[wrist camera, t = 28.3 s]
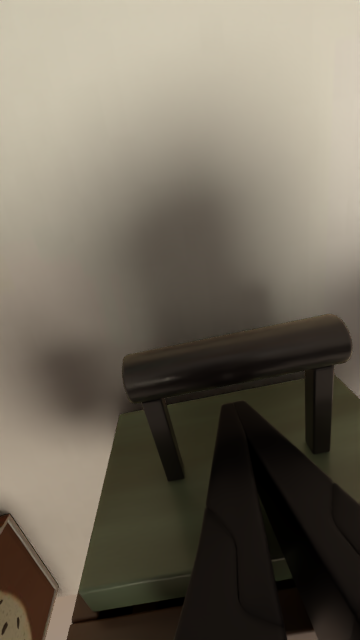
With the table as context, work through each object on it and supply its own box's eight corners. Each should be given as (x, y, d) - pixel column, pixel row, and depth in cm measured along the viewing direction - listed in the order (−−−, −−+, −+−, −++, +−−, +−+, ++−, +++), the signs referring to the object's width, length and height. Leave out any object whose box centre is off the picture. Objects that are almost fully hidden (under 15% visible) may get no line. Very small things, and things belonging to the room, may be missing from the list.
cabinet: (117, 420, 14) (58, 671, 6) (333, 378, 13) (550, 593, 6) (168, 548, 18) (169, 774, 11) (326, 520, 18) (438, 735, 11)
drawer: (84, 323, 10) (-22, 463, 5) (337, 270, 10) (574, 349, 4) (169, 544, 17) (171, 719, 11) (326, 516, 16) (413, 682, 11)
